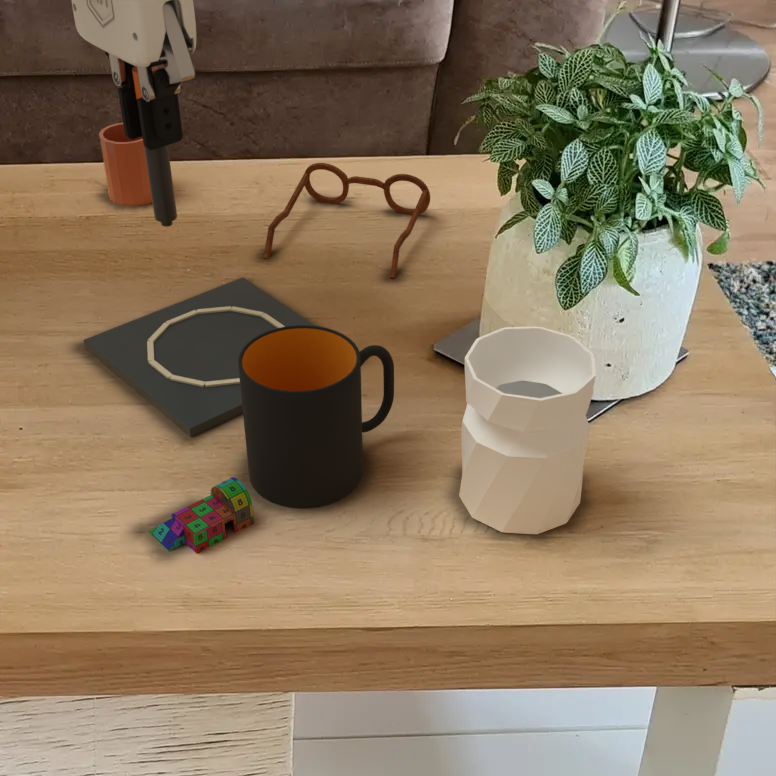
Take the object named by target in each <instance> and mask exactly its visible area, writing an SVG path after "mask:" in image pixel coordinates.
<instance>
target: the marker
mask: <svg viewBox="0 0 776 776" xmlns="http://www.w3.org/2000/svg"><path fill="white" fill-rule="evenodd" d="M151 68H152V73H153V75H154V73H155V71H156V70H157V69H159V66H155V67H151ZM132 72H133V79H134V86H135V93H136V99H138V98H142V94H141V90H140V83H139V76H138V69H137V67H136V66H135V67H133V69H132ZM144 149H145V155H146V162H147V169H148V175H149V182H150V189H151V196H152V202H151V203H152V209H153V214H154V215H153V217H154V220H155V221H157V222H159V223H160V224H161V226H162V227H167V228H169V227H171V226H173V221H176V219H178V211H177V204H176V197H175V190H174V181H173V175H172V167H171V159H170V152H169V145H167V146H163V147H160V148H157V149H154V150H149V149H147V148H146V147H145V146H144Z"/></svg>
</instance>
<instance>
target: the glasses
mask: <svg viewBox="0 0 776 776" xmlns="http://www.w3.org/2000/svg"><path fill="white" fill-rule="evenodd" d="M318 170H320V171H321V170H324V171H328V172H331V173H333V174H334V175H335V176H337V177H338V179H340V181H341V183H342V184H341V185H342V193H341V194H339V196H338V195H337V196H335V197H333V196H332V197H330V196H325V195H322V194H320V193H319V192H317V191H316V190H315V189H314V188H313V186H312V184H311V183H312V182H311V174H312V173H313V172H315V171H318ZM396 182H409V183H412V184H414V185H416V186H417V187H418V188H419V189H420V190H421V193H420V196H419V199H418V200H417V203H416V205H415V208H407V207H403V206H402V205H399V204H398V203H396V202H395V200H394V199H393V197H392V194H391V186H392V185H393V184H395V183H396ZM351 184H358V185H366V186H373V187H378V188H380V189H382V190H383V194H384V198H385V201H386V203H387V205H388V206H389V207H390V209H392V210H393V211H395V212H396V213H398V214H401V215H407V216H411V217H410V220H409V222H408V224H407V226H406V229H404V230H403V232H402V233H401V234H400V235H399V237H398V238H397V240H396V242H395V244H394V245H393V252H392V260H391V269H390V275H389V277H390V279H396V277H397V272H398V264H399V256H400V249H401V247H402V245H403V244H404V242H405V241H406V239H408V237H410V235H411V233H412V231H413V229H414V228H415V224H416V222H417V221H418V217H419V215H421V214H424V213H425V212H426V211H427V210H428V208H429V206H430V203H431V192H430V189H429V188H428V186H427V184H426V183H425V182H424V181H423V180H422V179H420V178H419V177H418V176H415V175H412V174H407V173H396V174H393V175H392V176H391V175H390V176H389V177H388V178H387V179H385V181H384V182H383V181H382V180H380V179H377V178H374V177H373V178H371V177H365V176H357V175H355V176H350V177H348V175H347V174H346V172H344V171H343V170H342V169H340V168H339V167H337V166H336V165H334V164H330V163H325V162H315V163H312V164H310V165H308V167H307V168H306V169H305V171H304V173H303V175H302V177H301V179H300V180H299V181H298V184H297V185H296V187H295V189H294V192H293V193H292V194H291V196H290V198H289V200H288V202H287V204H286V206H285V208H284V210H283V211H281V212H280V213H278V214H277V215H276V216H275V218H274V219H273V220H272V221H271V223H270V224H269V225H268V228H267V234H266V241H265V247H264V252H263V259H266V260H268V259H269V258H271V254H272V248H273V242H274V236H275V230H276V228H277V227H278V226H279V225H280V224H281V222H282V221H283V220H285V219H286V218H287V217H289V215H290V213H291V212H292V210H293V208H294V206H295V204H296V202H297V201H298V199H299V197H300V195H301V193H302V191H303V189H304V188H305V190H306V192H307V193H308V194H309V195H310V196H311V197H312V198H313V199H314V200H316V201H317V202H320V203H323V204H331V205H337V204H341V203H343V202H344V201H345V200H346V199H347V197H348V194H349V189H350V185H351Z"/></svg>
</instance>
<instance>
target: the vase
mask: <svg viewBox="0 0 776 776" xmlns="http://www.w3.org/2000/svg"><path fill="white" fill-rule="evenodd" d="M596 376H597V375H596V362H595V354H594V353H593V352H592V351H591V350H590V349H588V348H587V347H586V345H584V344H583V343H582V342H581V341H579V340H578V339H577V338H576V337H574V336H573V335H571V334H566V333H564V332H561V331H557V330H553V329H550V328H547V327H543V326H504V327H501V328H499V329H497V330H493V331H492V332H489V333H487V334H484V335H482V336H479V337H477V338H476V339H475V340H474V342H473V344H471V347H470V348H469V349H468V351H467V353H466V355H465V356H464V383H465V402H466V403H467V404H466V407H465V411H464V415H463V417H462V422H461V430H460V431H461V433H460V448H461V449H460V450H461V481H460V487H459V494H458V497H459V498H460V500H461V502H462V503H463V505H464V506H465V508H466V510H467V511H468V514H469V516H470V517H471V518H472V519H473V520H476V521H478V522H480V523H482V524H484V525H486V526H489V527H490V528H492V529H493V530H496V531H498V532H500V533H502V534H503V533H504V534H519V535H520V534H522V535H524V534H525V535H540V534H542V533H545V532H547V531H550V530H553V529H555V528H558V527H560V526H563V525H566V524H567V523H568V522H569V520H570V519H571V517H572V516H573V514H574V513H575V512H576V510H577V508H578V507H579V506H580V504H581V497H582V490H583V489H582V488H583V480H584V479H583V477H584V463H585V458H586V453H587V448H588V441H589V436H590V435H589V434H590V428H591V426H590V424H589V423H590V422H589V421H588V417H587V414H588V412H589V408H590V405H591V401H592V398H593V395H594V385H595V381H596Z"/></svg>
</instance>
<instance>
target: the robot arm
mask: <svg viewBox="0 0 776 776" xmlns="http://www.w3.org/2000/svg"><path fill="white" fill-rule="evenodd" d="M71 8H72V13H73V19H74V25H75V28H76V31H77V33H78V34H79V36H80V37H81V38H83V40H84V41H86V42H88V43H89V44H91V45H93V46H95V47H96V48H99V49H100V50H102V51H104V54H105V55H106V57H107V58H108V60H109V63H110V64H109V65H110V70H111V76H112V80H113V83H114V85H116V86H117V87H118V88H117V93H118V99H119V105H120V112H121V119H122V123H123V125H124V132H125V135H126V136H127V137H128V138H130V139H135V138H138V137H143V143H144V146H145V147H146V148H147V149H149V150H154V149H157V148H160V147H163V146H167V145H168V146H170V145H172V144H173V145H174V144H175V143H178V142H181V141H182V140H183V137H184V135H183V126H182V118H181V111H180V101H179V95H178V94H179V93H181V90H182V88H181V87H182V86H181V84H182V82H185V81H189V80H192V79H194V78H195V76H196V72H195V71H196V70H195V68H194V65H193V62H192V58H191V55H193V54H194V52H195V51H196V48H197V24H196V23H197V22H196V14H195V6H194V0H71ZM161 65H163V67H161V68H158V69H157V70H156V71H155V73H154V75H153V73H152V68H151V67H155V66H157V67H159V66H161ZM135 66H136V67H137V69H138V76H139V83H140V90H141V94H142V98H138V99H136V93H135V86H134V79H133V72H132V69H133V67H135Z"/></svg>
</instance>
